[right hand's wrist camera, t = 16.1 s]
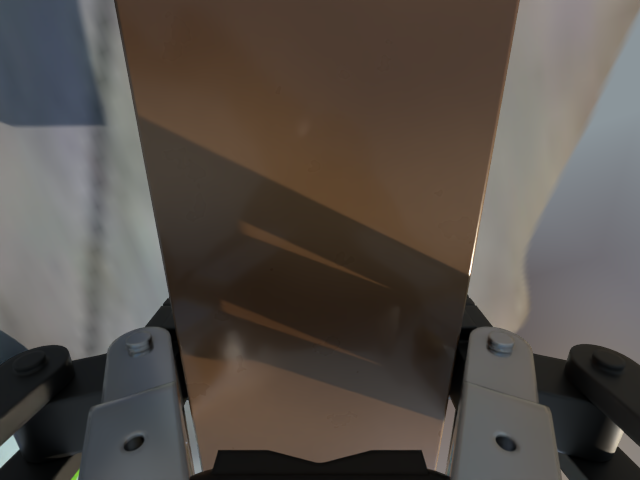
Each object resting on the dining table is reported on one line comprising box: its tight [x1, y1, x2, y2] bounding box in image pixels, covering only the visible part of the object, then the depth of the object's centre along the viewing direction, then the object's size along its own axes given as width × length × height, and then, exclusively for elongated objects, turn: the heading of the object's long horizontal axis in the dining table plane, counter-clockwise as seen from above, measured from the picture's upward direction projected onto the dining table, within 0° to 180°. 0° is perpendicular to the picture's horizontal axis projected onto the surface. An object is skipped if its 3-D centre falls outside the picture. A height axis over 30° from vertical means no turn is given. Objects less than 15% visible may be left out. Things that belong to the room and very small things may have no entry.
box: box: [114, 0, 520, 472], centre depth 10 cm, size 21×6×12 cm, turn 0°
